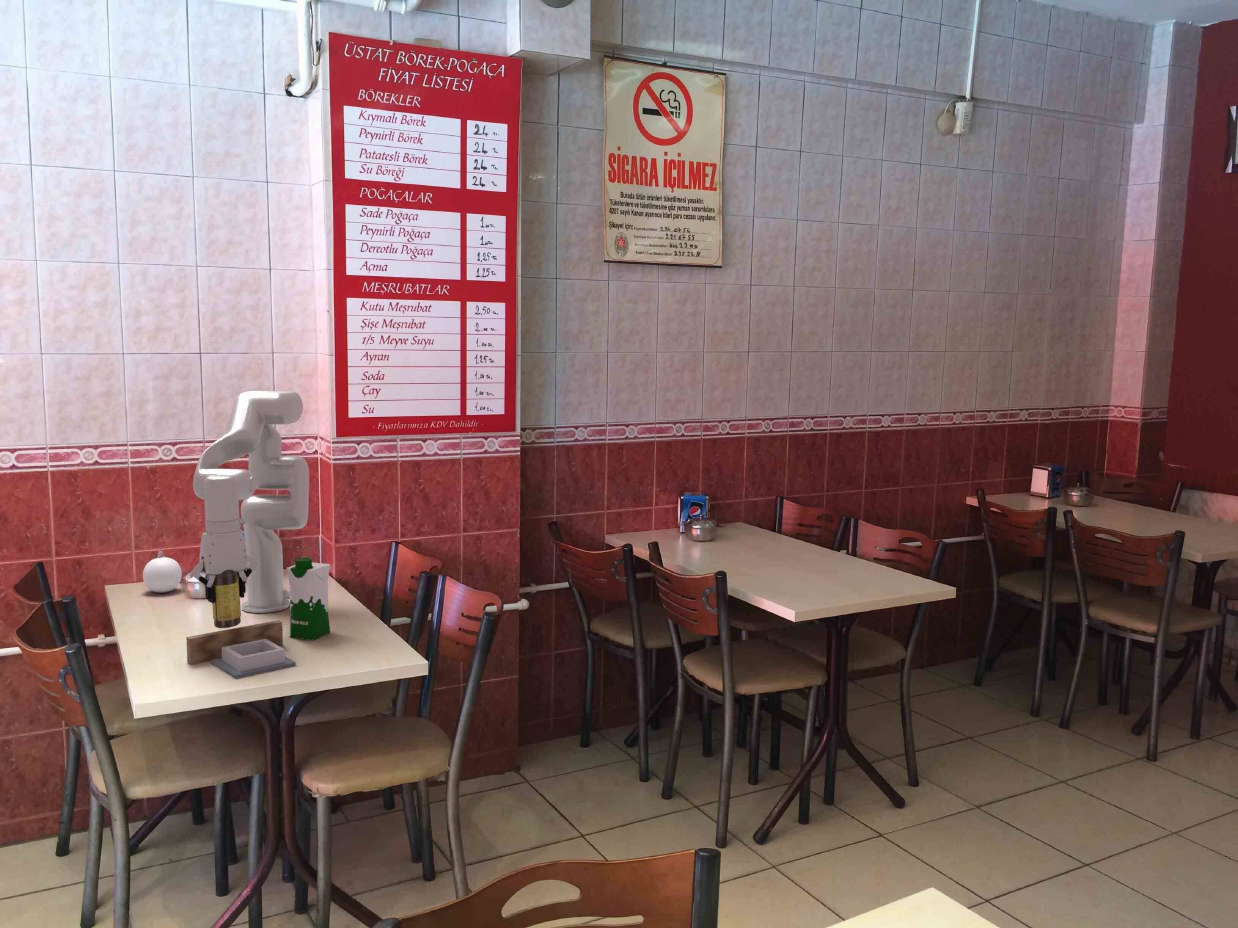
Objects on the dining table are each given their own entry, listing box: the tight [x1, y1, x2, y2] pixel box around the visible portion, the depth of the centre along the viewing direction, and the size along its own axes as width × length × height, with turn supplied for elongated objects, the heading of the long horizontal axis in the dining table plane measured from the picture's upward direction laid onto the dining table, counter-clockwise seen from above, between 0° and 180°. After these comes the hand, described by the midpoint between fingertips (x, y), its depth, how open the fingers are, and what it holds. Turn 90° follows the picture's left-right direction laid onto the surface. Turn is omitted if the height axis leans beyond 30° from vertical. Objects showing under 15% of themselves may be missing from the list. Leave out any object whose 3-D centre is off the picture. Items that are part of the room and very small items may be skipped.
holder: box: [210, 639, 297, 680], centre depth 229 cm, size 14×14×4 cm
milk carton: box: [286, 557, 331, 641], centre depth 251 cm, size 9×9×20 cm
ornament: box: [142, 550, 183, 594], centre depth 291 cm, size 10×10×12 cm
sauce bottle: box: [211, 570, 242, 629], centre depth 240 cm, size 6×6×20 cm
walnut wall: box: [185, 619, 284, 665], centre depth 236 cm, size 22×2×6 cm, turn 132°
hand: (226, 598), depth 240 cm, fingers closed on sauce bottle, 6 cm apart
